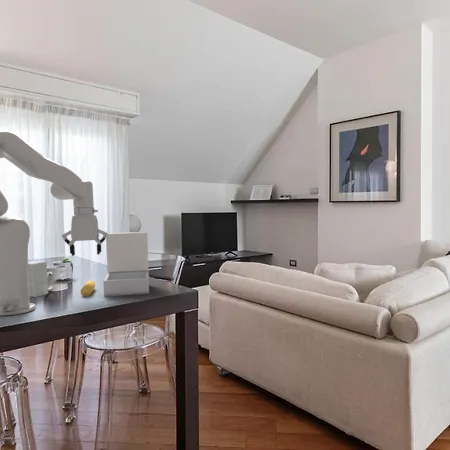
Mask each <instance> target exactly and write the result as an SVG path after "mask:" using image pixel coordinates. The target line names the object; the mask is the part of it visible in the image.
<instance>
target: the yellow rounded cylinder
mask: <svg viewBox="0 0 450 450" xmlns="http://www.w3.org/2000/svg"><path fill="white" fill-rule="evenodd" d="M95 288H96V283H95V281H94V280H88V281H86V283H84V285H83V287H81V289H80V294H81V295H82V296H83V297H89V296H90V295H92V293H93V291H94V290H95Z"/></svg>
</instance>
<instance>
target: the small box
mask: <svg viewBox="0 0 450 450" xmlns="http://www.w3.org/2000/svg"><path fill="white" fill-rule="evenodd" d="M47 263H48V262H47V261H36V260H32V261H31V260H30V261H28V270H29V292H30V298H38V297H41V296H45V295H48V294H49V284H48V264H47Z"/></svg>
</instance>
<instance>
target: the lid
mask: <svg viewBox="0 0 450 450" xmlns="http://www.w3.org/2000/svg"><path fill="white" fill-rule="evenodd" d="M107 233H108V235H107V237H106V239H105V241H106V242H105V243H106V246H105V247H106V260H107V261H106V263H107V274H108V273H126V272H146V271H148V272H149V247H148V245H149V244H148V243H149V242H148V232H147V231H143V232H142V231H141V232H140V231H129V232H128V231H125V232H110V233H109V232H107Z"/></svg>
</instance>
